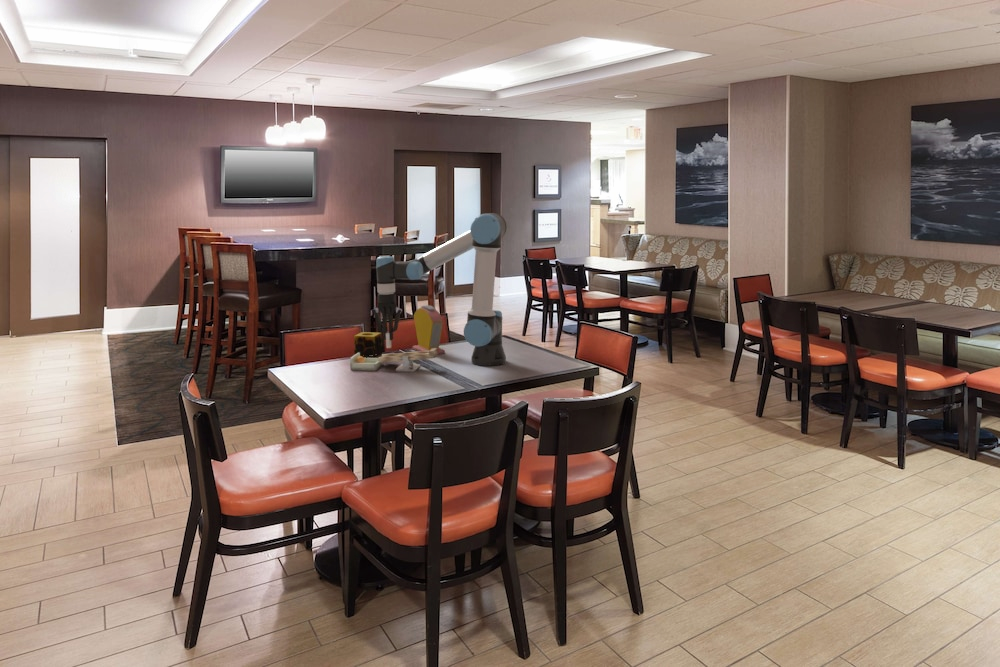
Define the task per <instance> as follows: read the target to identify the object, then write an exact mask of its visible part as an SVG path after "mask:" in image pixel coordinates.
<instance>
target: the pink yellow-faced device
mask: <svg viewBox="0 0 1000 667" xmlns="http://www.w3.org/2000/svg"><path fill="white" fill-rule="evenodd" d="M413 321H414V324H415V325H414V326H415V332H416V333H415V334H416V340H417V343H418V344H417V345H416V344H415V345H412V346H411V348H412V350H414V351H415V352H420V351H430V350H431V349H432V348H437V356H438V355H444V354H445V353H446V351H445V349H443V348H440V342H441V335H442V330H443V325H444V319H443V318H442V315H441V314H440V312H439V311H438V310H437V309H436V308H435V307H434V306H433V305H422V306H420V307H419V308H417V309H416V310H415V312H414V314H413Z"/></svg>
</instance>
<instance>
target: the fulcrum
mask: <svg viewBox="0 0 1000 667" xmlns="http://www.w3.org/2000/svg"><path fill="white" fill-rule="evenodd" d="M402 359H403V361H402V363H400V365H399V366H398V367H396V368H395V371H396V372H413V373H414V372H416V371H417V370H418V369H419V368H420V367H421V363H420V364H419V363H414V360H410V361H409V356H402Z"/></svg>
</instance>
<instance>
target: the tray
mask: <svg viewBox="0 0 1000 667" xmlns="http://www.w3.org/2000/svg"><path fill="white" fill-rule="evenodd" d="M359 356H360V353H357V354H353V355H352V356H350V357H349V364H350V365H349V366H350V368H349V369H350V371H351V370H353V371H354V370H355V371H377V370H378V369H379V368H381V367H382V366H383V365H384V362H379V361H378V357H376V358H365V363H357V361H356V360H357V358H358V357H359Z"/></svg>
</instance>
